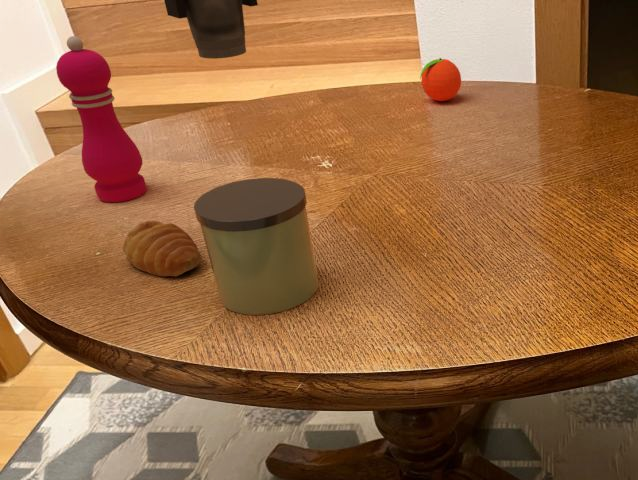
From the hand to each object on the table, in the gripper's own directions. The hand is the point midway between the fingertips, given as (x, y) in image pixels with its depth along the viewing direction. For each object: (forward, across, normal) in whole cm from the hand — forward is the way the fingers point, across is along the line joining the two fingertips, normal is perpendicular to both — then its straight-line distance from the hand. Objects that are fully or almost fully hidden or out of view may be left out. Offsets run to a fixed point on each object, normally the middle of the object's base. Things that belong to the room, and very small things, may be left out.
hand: (213, 9), depth 70 cm
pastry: (+25, -10, +5) cm, 27 cm away
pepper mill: (+25, -6, +28) cm, 38 cm away
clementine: (+25, +50, +28) cm, 63 cm away
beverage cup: (+4, 0, 0) cm, 4 cm away
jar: (+25, -4, -10) cm, 27 cm away
